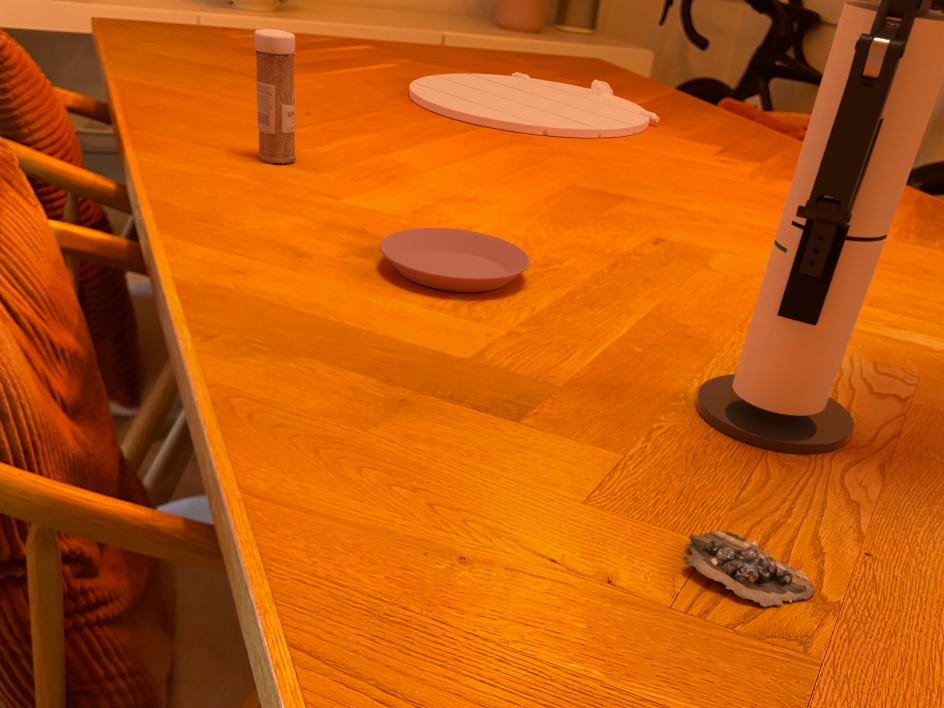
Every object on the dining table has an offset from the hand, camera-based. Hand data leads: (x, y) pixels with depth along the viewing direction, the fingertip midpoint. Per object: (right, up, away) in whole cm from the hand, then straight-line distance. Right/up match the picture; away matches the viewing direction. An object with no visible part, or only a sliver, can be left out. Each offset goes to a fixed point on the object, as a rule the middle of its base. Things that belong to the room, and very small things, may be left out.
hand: (809, 303), depth 71 cm
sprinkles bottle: (-48, +34, +49) cm, 76 cm away
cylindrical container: (-1, -6, +5) cm, 7 cm away
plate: (-26, +11, +24) cm, 37 cm away
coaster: (-1, -7, +6) cm, 9 cm away
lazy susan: (-14, +63, +90) cm, 110 cm away
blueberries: (-8, -20, -12) cm, 25 cm away
